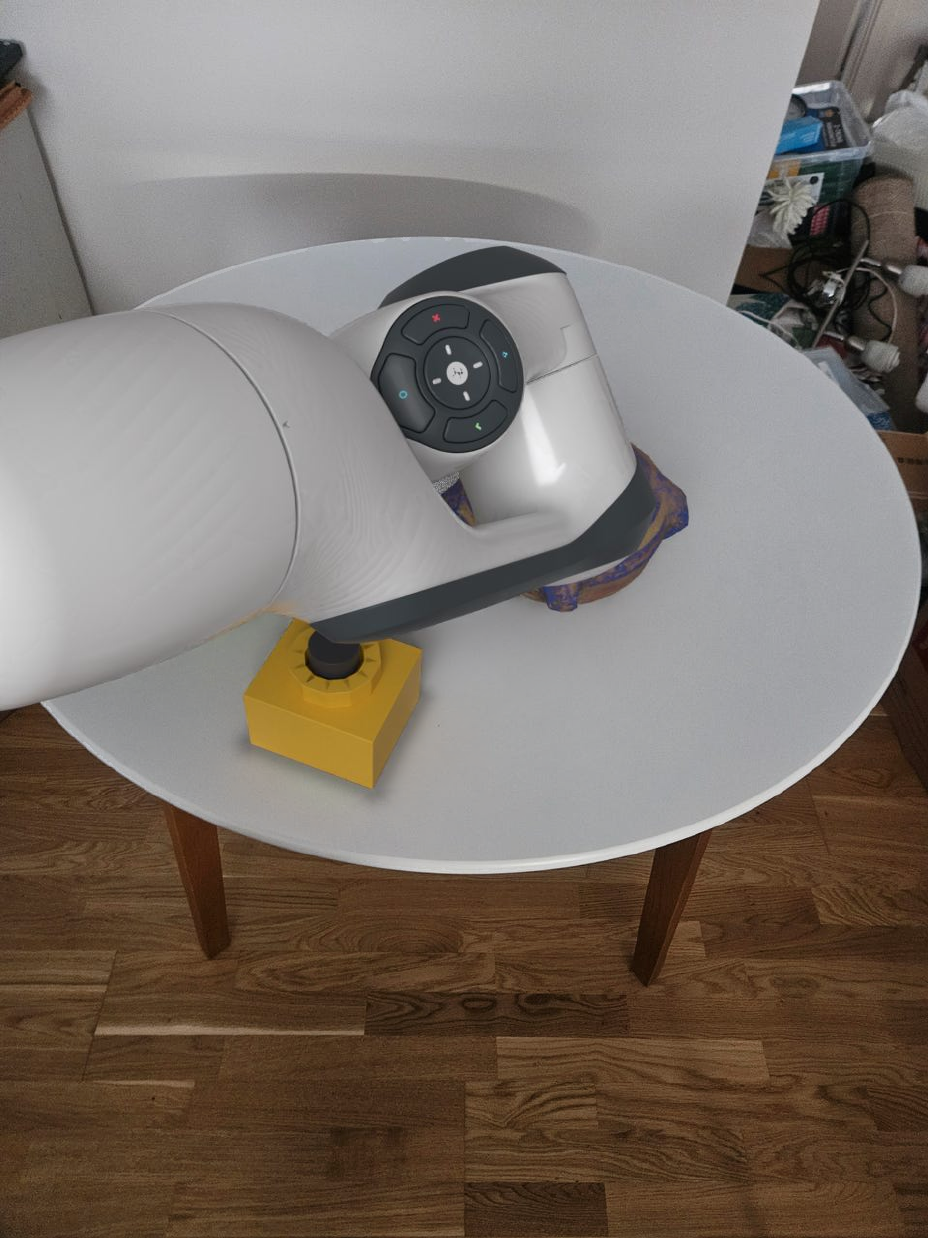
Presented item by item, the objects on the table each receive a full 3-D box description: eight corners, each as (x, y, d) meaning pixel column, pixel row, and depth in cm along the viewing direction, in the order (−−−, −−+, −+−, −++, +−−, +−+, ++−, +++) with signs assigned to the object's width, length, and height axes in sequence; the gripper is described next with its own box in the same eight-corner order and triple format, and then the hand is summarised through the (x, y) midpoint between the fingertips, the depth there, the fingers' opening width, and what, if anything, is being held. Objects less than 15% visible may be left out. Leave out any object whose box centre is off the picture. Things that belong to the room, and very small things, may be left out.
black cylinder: (300, 669, 68) (298, 654, 67) (322, 633, 71) (322, 618, 69) (346, 686, 68) (346, 671, 66) (368, 649, 70) (368, 634, 69)
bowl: (409, 547, 87) (413, 462, 80) (553, 471, 96) (569, 387, 88) (544, 675, 79) (563, 593, 72) (689, 579, 88) (719, 497, 80)
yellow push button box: (250, 743, 73) (239, 679, 67) (305, 657, 79) (299, 591, 72) (372, 789, 71) (373, 728, 65) (419, 698, 77) (423, 633, 71)
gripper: (183, 573, 52) (123, 590, 64) (464, 426, 62) (367, 464, 73) (124, 465, 50) (73, 502, 62) (421, 332, 60) (329, 386, 72)
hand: (234, 480), depth 68 cm, fingers open, 8 cm apart
